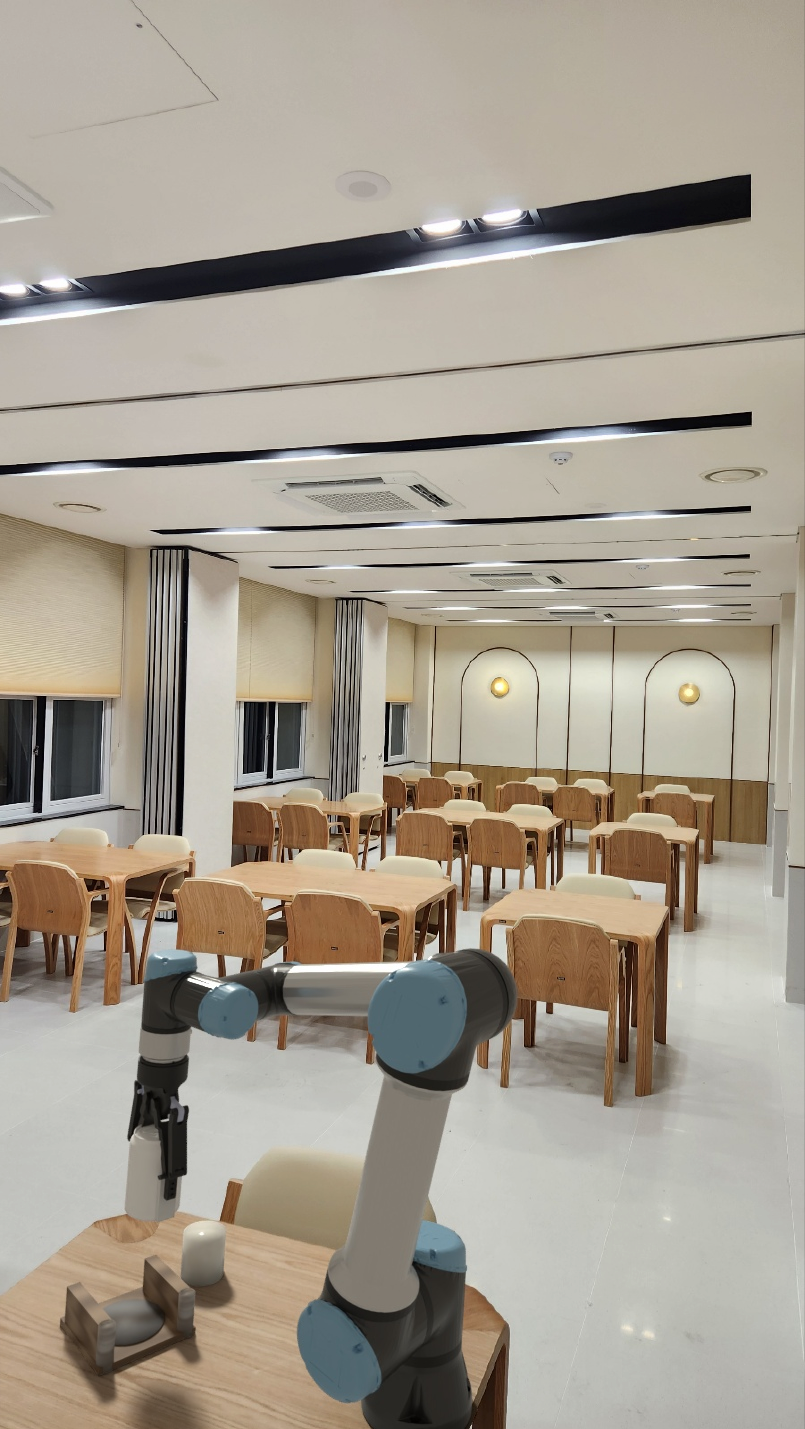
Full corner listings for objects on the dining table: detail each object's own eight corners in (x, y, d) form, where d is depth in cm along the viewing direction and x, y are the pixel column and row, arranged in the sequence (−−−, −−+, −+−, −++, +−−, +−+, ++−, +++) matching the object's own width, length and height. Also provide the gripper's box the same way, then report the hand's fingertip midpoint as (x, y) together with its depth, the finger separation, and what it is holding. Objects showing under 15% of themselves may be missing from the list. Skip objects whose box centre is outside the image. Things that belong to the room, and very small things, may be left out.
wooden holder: (195, 1334, 135) (198, 1293, 135) (99, 1376, 125) (102, 1332, 125) (152, 1288, 146) (154, 1251, 146) (59, 1324, 136) (62, 1283, 136)
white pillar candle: (231, 1276, 150) (234, 1233, 151) (193, 1291, 146) (196, 1247, 146) (209, 1257, 155) (212, 1216, 156) (173, 1271, 151) (175, 1228, 151)
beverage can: (163, 1229, 132) (170, 1146, 132) (113, 1218, 134) (120, 1136, 134) (188, 1202, 140) (194, 1124, 140) (141, 1192, 141) (147, 1115, 142)
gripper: (219, 1072, 132) (207, 1229, 131) (156, 1030, 148) (145, 1170, 147) (172, 1082, 127) (159, 1245, 126) (112, 1037, 143) (100, 1183, 142)
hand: (151, 1205), depth 137 cm, fingers closed on beverage can, 8 cm apart
